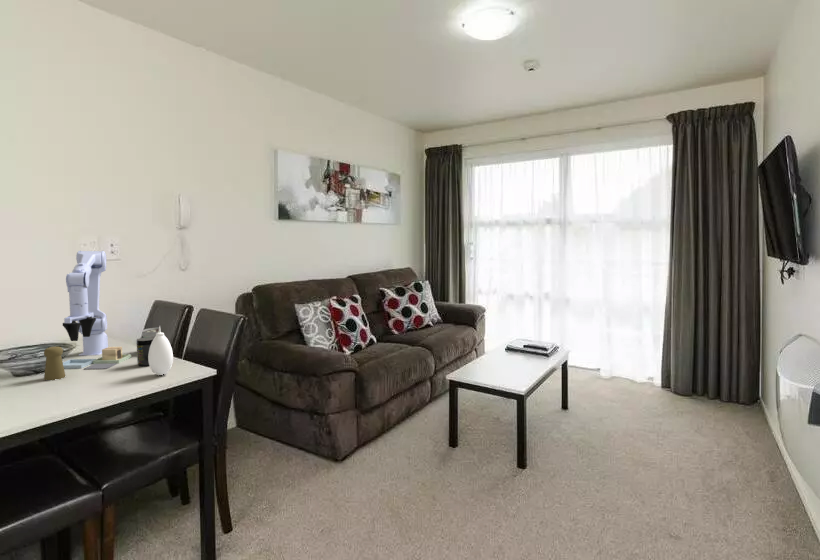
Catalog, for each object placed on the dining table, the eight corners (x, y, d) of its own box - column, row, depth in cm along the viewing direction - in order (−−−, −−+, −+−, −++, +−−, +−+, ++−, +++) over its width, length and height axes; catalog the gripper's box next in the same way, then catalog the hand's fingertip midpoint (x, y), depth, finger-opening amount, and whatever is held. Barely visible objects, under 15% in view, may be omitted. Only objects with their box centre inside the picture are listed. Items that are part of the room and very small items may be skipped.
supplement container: (150, 367, 172) (150, 340, 171) (133, 367, 172) (132, 340, 171) (160, 363, 179) (160, 337, 178) (143, 363, 179) (143, 337, 178)
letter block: (109, 358, 183) (108, 346, 183) (122, 358, 184) (122, 346, 183) (102, 362, 178) (101, 349, 178) (116, 361, 179) (115, 349, 179)
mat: (94, 365, 175) (94, 363, 175) (116, 364, 176) (116, 363, 176) (83, 370, 168) (83, 368, 168) (106, 369, 169) (106, 368, 169)
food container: (144, 350, 200) (143, 328, 199) (159, 349, 202) (159, 327, 202) (140, 356, 189) (139, 333, 188) (157, 355, 191) (156, 332, 190)
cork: (53, 381, 154) (51, 349, 154) (39, 380, 156) (37, 348, 155) (70, 376, 160) (68, 345, 160) (56, 375, 162) (54, 344, 161)
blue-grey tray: (70, 363, 178) (70, 359, 178) (96, 362, 179) (96, 358, 179) (54, 369, 168) (53, 365, 168) (81, 369, 169) (81, 365, 169)
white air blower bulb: (174, 376, 162) (172, 326, 160) (149, 379, 157) (147, 328, 156) (172, 370, 168) (171, 323, 167) (148, 373, 164) (146, 324, 163)
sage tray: (106, 358, 185) (106, 354, 185) (131, 357, 186) (131, 354, 186) (93, 364, 176) (92, 360, 176) (119, 364, 177) (118, 360, 177)
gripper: (78, 306, 166) (79, 342, 167) (101, 301, 181) (102, 334, 182) (57, 306, 165) (59, 342, 167) (82, 301, 180) (83, 335, 181)
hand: (80, 338), depth 174 cm, fingers open, 7 cm apart
